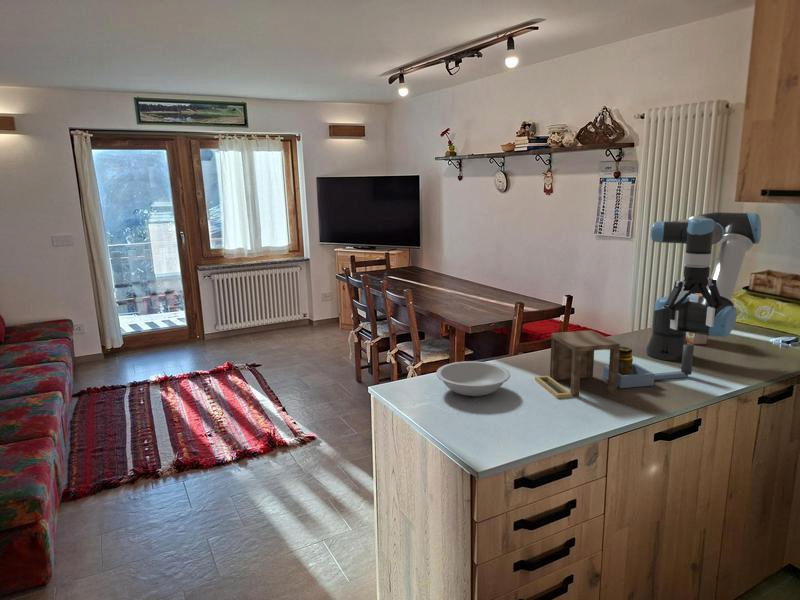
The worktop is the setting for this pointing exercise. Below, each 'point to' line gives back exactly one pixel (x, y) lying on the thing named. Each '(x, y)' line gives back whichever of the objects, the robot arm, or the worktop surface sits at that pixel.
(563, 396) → the beige rectangular tray
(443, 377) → the soup bowl
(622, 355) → the condiment
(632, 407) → the worktop surface
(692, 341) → the cracker box
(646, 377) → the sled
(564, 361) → the tunnel
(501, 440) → the worktop surface
